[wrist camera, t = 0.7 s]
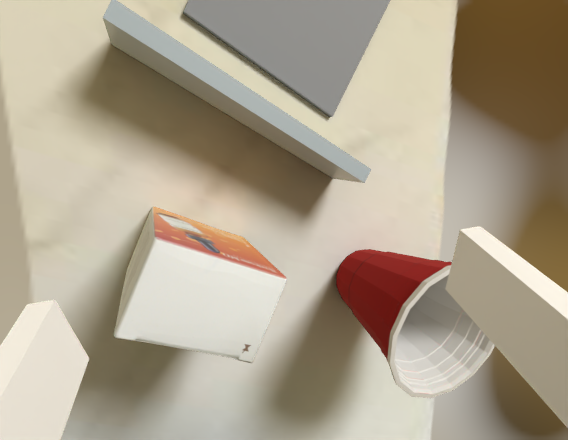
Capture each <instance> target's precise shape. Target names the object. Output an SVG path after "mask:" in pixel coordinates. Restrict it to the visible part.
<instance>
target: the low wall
mask: <svg viewBox="0 0 568 440" xmlns="http://www.w3.org/2000/svg"><path fill="white" fill-rule="evenodd" d="M103 20H104V23H105V26H106V29H107V32H108V35H109V38H110V41H111V44H112V45H113V46H115V47H117V48H118V49H120V50H122V51H123V52H125V53H127V54H128V55H130V56H131V57H133V58H135V59H136V60H138V61H140V62H141V63H143V64H145V65H146V66H148V67H150V68H151V69H153V70H155V71H156V72H158V73H160V74H161V75H163V76H165V77H166V78H168V79H169V80H171V81H173V82H174V83H176V84H178V85H179V86H181V87H183V88H184V89H186V90H188V91H189V92H191V93H193V94H194V95H196V96H198V97H199V98H201V99H202V100H204V101H206V102H207V103H209V104H211V105H212V106H214V107H216V108H217V109H219V110H221V111H222V112H224V113H226V114H227V115H229V116H231V117H232V118H234V119H235V120H237V121H239V122H240V123H242V124H244V125H245V126H247V127H249V128H250V129H252V130H254V131H255V132H257V133H259V134H260V135H262V136H264V137H265V138H267V139H269V140H270V141H272V142H273V143H275V144H277V145H278V146H280V147H282V148H283V149H285V150H287V151H288V152H290V153H292V154H293V155H295V156H297V157H298V158H300V159H302V160H303V161H305V162H306V163H308V164H310V165H311V166H313V167H315V168H316V169H318V170H320V171H321V172H323V173H325V174H326V175H328V176H330V177H331V178H334V179H341V180H348V181H355V182H362V183H365V181H366V179H367V177H368V175H369V173H370V171H371V169H370V168H368V167H367V166H365V165H364V164H362V163H361V162H359V161H358V160H356V159H355V158H353V157H352V156H350V155H349V154H347V153H346V152H344V151H343V150H341V149H340V148H338V147H337V146H335V145H334V144H332V143H331V142H329V141H328V140H326V139H325V138H323V137H322V136H320V135H319V134H317V133H316V132H314V131H313V130H311V129H310V128H308V127H307V126H305V125H304V124H302V123H301V122H299V121H298V120H296V119H295V118H293V117H292V116H290V115H288V114H287V113H285V112H284V111H282V110H281V109H279V108H278V107H276V106H275V105H273V104H272V103H270V102H269V101H267V100H266V99H264V98H263V97H261V96H260V95H258V94H257V93H255V92H254V91H252V90H251V89H249V88H248V87H246V86H245V85H243V84H242V83H240V82H239V81H237V80H236V79H234V78H233V77H231V76H230V75H228V74H227V73H225V72H224V71H222V70H221V69H219V68H218V67H216V66H215V65H213V64H212V63H210V62H209V61H207V60H205V59H204V58H202V57H201V56H199V55H198V54H196V53H195V52H193V51H192V50H190V49H189V48H187V47H186V46H184V45H183V44H181V43H180V42H178V41H177V40H175V39H174V38H172V37H171V36H169V35H168V34H166V33H165V32H163V31H162V30H160V29H159V28H157V27H156V26H154V25H153V24H151V23H150V22H148V21H147V20H145V19H144V18H142V17H141V16H139V15H138V14H136V13H135V12H133V11H132V10H130V9H129V8H127V7H126V6H124V5H123V4H121V3H119V2H118V1H116V0H111V2H110V4H109V6H108V8H107V10H106V12H105V14H104V16H103Z"/></svg>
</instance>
